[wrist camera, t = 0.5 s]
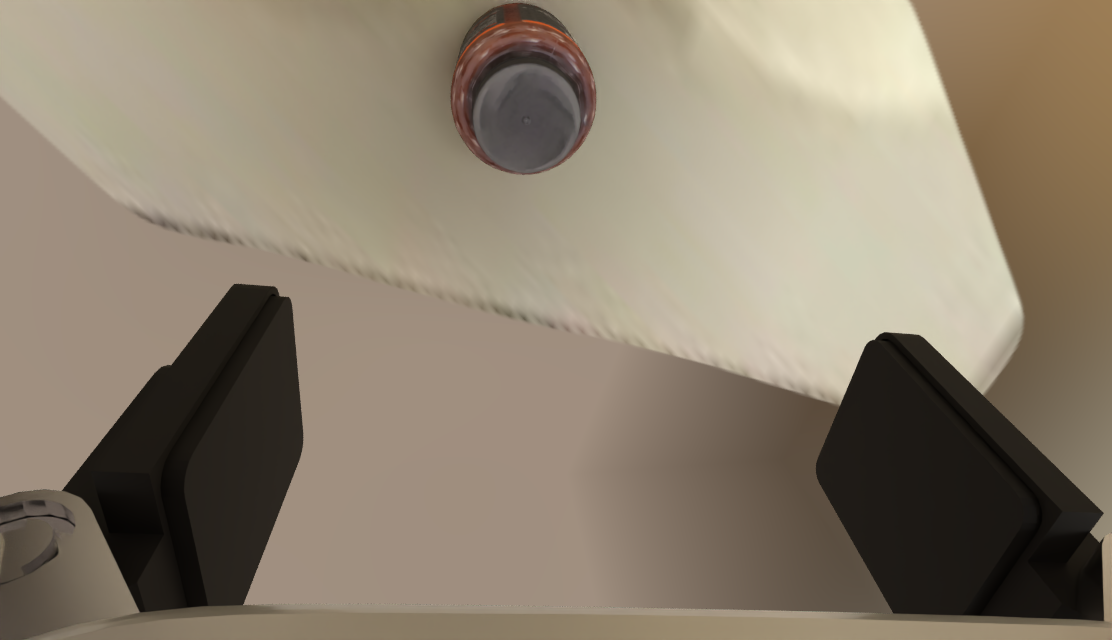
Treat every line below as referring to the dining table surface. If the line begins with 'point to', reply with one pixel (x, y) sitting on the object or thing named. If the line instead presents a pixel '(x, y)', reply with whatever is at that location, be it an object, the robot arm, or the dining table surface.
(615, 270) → the dining table surface
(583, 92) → the supplement bottle
